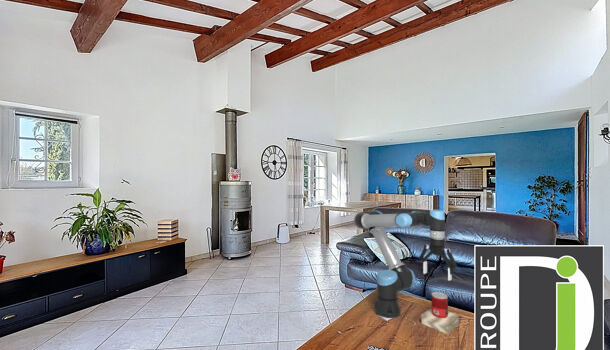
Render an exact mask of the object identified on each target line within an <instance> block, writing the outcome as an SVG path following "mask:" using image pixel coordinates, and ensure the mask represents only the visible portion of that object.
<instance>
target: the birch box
mask: <svg viewBox="0 0 610 350" xmlns="http://www.w3.org/2000/svg"><path fill="white" fill-rule="evenodd" d="M420 318H421V319H420V320H421V324H422V325H423V326H427V327H429V328H431V329H434V330H436V331H439V332H441V333H444V334H447V335H449V334H450V333H451V332H452V331H453V330H454V329H456V328H457V327H458V326H459V324H460V315H459V314H456V313H453V312H450V311H448V316H447V317H446V318H439V317H436V316H434V315H433V314H432V307H430V308H429V309H428V310H426V311H425V312H423V313H421V316H420Z"/></svg>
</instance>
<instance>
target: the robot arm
mask: <svg viewBox="0 0 610 350" xmlns="http://www.w3.org/2000/svg"><path fill="white" fill-rule="evenodd" d="M445 216H446V215H445V211H444V210H442V209H430V210H429V212H427V211H421V210H413V211H411V212H406V213H404V212H403V213H382V212H381V211H379V210H368V211H367V210H366V211H361V212H357V213H356V214H355V216H354V221H353V222H354V225H355V226H356V227H357V228H358V229H361V230H366V229H367V230H368V233H370V234H372V236H373V238H374V240H375V242H376V244H377V246H378V248H379V250H380V253H381V254H382V256H383V259H384V260H385V262H386V264H387V267H388V269H384V270H380V271H378V273H377V274H376V294H377V295H376V296H377V297H376V300H375V303H374V307H373V308H374V312H375V314H376V315H378V316H380V317H382V318H386V319H388V318H389V319H393V318H398V317H400V316H401V314H402V310H401V306H400V303H399V299H398V293H400V292H403V291H406V290H409V289H411V288H412V287H414V286H415V283H416V275H415V273H414V271H413V269H410V268H408V267H407V265H406V264H405V263H403V262H402V261H401V259H400V257H399V255H398V253H397V251H396V249H395V247H394V245H393V243H392V241H391V240H390V237H389V235H388V234H387V232H386V229H385V228H387V227H389V228H394V227H395V228H397V227H398V228H401V229H402V228H404V229H405V228H410V227H415V226H416V227H417V226H427V227H429V244H424V246H423V250H422V251H421V253H420V255H419V257H418V260H420V261H421V267H422V269H423V272H422V273H423V275H426V274H427V273H428V261H427V260H428V259H429V258H430V257H431V256H432V255H436V256H440V257H441V258H442V259H443V261H444V262H445V264H446V265H447V266H448V268H447V281H452V280H453V279H452V277H453V275H454V269H456V268H458V265H457V262H456V259H455V258H454V256H453V254H452V249H451V248H446V247H445V246H446V244H445V243H446V239H445V238H446V232H445V229H446V227H445V224H446V222H445V221H446V217H445ZM428 249H429V250H430V251H429V252H427V251H428ZM426 253H427V254H426Z"/></svg>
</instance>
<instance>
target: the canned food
mask: <svg viewBox="0 0 610 350" xmlns="http://www.w3.org/2000/svg"><path fill="white" fill-rule="evenodd" d="M431 308H432V314H433V315H434V316H436V317H439V318H446V317H447V316H448V312H449V298H448V294H446V293H444V292H440V291H434V292H431Z"/></svg>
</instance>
